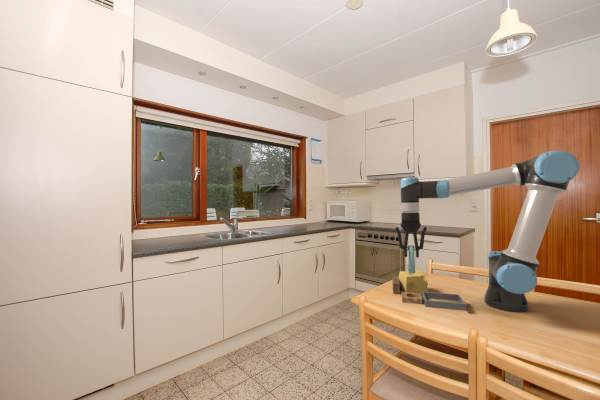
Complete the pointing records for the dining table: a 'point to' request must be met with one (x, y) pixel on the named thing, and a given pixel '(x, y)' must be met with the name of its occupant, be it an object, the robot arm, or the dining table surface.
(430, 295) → the tray
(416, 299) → the holder
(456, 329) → the dining table surface
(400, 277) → the cheese
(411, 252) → the dowel
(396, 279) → the bar
